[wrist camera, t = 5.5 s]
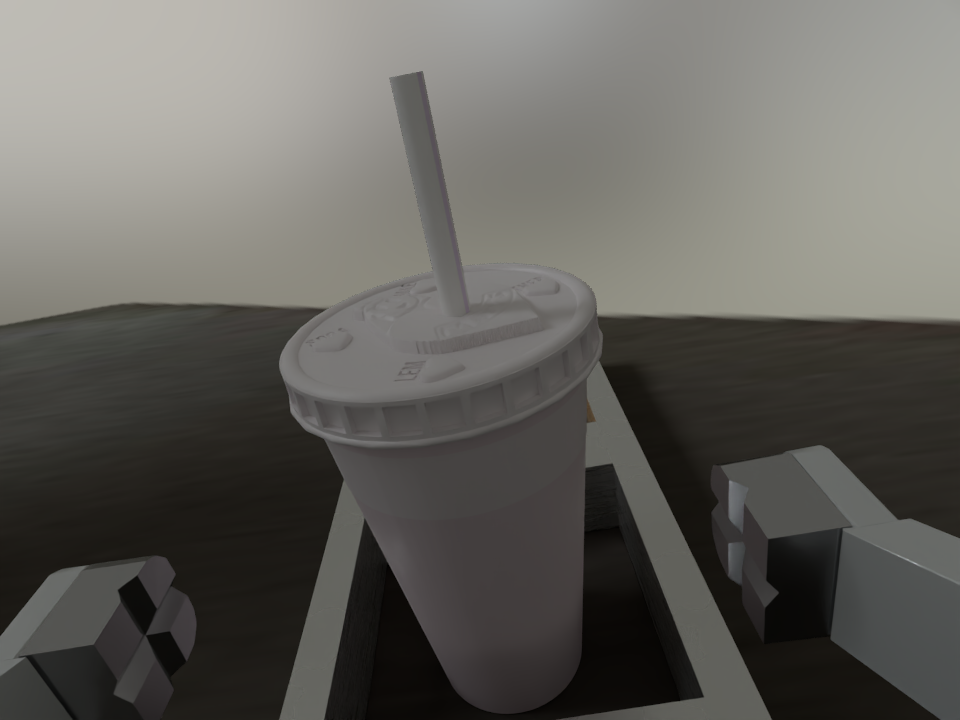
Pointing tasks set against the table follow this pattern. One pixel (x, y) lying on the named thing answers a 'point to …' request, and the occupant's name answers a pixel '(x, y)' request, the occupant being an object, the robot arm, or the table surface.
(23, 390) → the table surface
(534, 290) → the smoothie
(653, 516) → the cup holder
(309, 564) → the table surface
